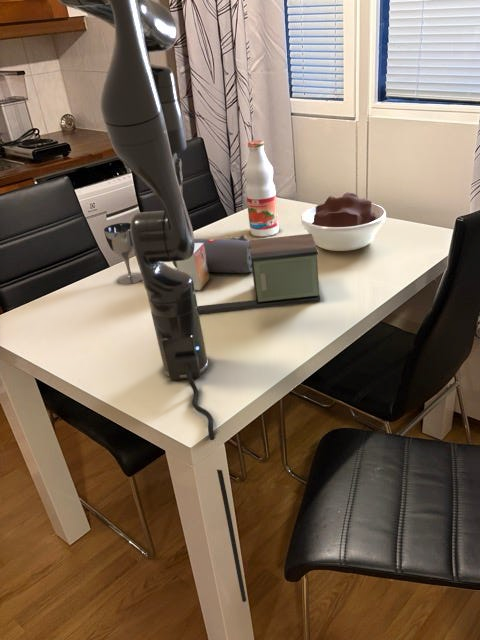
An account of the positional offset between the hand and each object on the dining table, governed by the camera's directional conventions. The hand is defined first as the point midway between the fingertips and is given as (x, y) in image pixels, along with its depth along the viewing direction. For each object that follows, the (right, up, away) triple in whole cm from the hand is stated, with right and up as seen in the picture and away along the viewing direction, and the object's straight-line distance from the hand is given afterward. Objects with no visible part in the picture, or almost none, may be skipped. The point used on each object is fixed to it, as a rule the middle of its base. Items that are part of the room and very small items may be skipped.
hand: (179, 212), depth 127 cm
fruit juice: (+16, +13, +66) cm, 69 cm away
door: (+23, -15, +20) cm, 34 cm away
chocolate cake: (+40, +5, +51) cm, 65 cm away
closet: (+23, -13, +26) cm, 37 cm away
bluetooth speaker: (+4, +2, +44) cm, 44 cm away
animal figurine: (+11, +7, +55) cm, 56 cm away
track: (+15, -17, +21) cm, 31 cm away
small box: (-2, -10, +35) cm, 36 cm away
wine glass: (-22, -7, +42) cm, 48 cm away
